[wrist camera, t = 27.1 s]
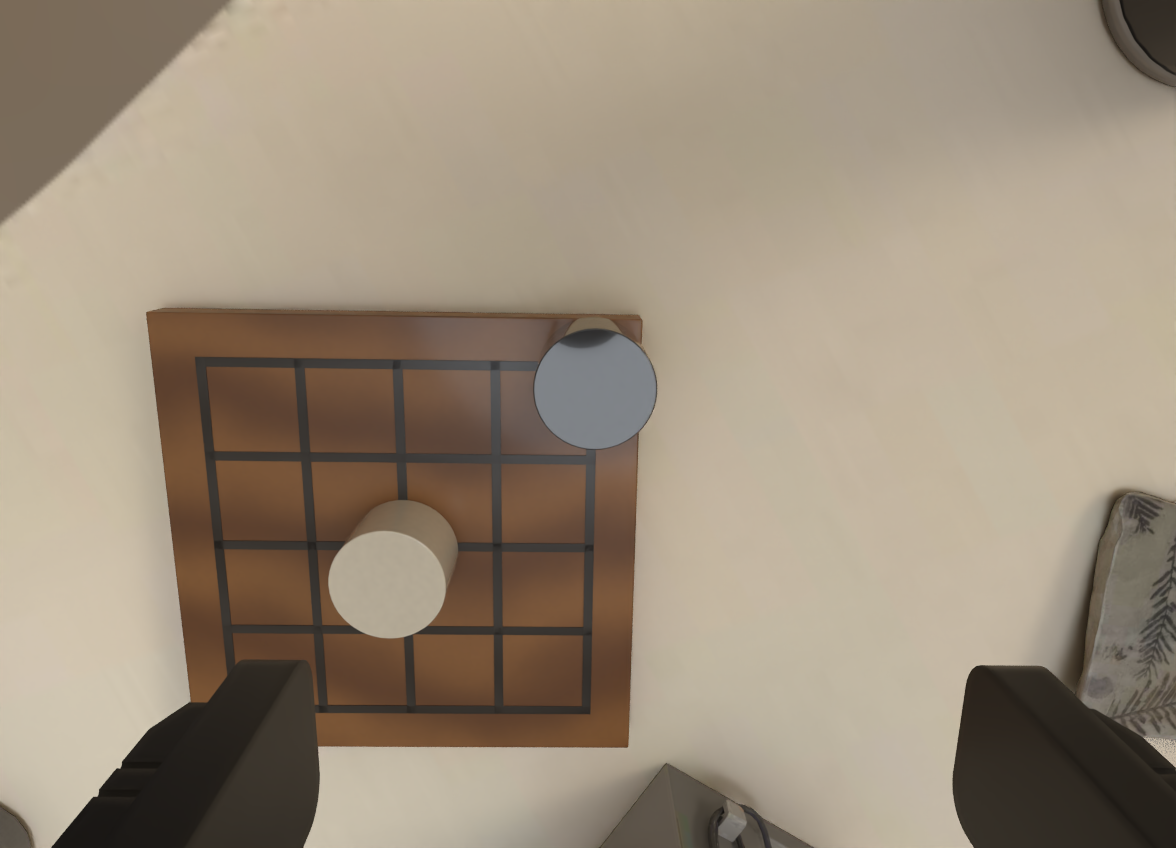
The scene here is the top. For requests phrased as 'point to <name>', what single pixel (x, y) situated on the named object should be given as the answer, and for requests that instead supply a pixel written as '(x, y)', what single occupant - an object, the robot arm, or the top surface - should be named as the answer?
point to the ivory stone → (394, 569)
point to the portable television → (693, 819)
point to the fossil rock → (1134, 619)
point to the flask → (12, 832)
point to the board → (387, 473)
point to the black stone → (594, 384)
